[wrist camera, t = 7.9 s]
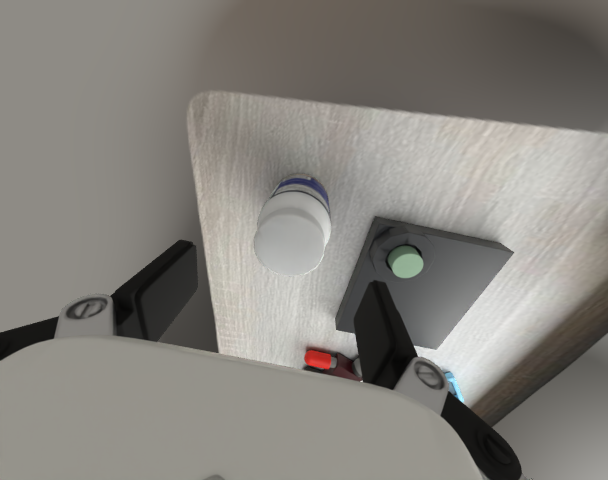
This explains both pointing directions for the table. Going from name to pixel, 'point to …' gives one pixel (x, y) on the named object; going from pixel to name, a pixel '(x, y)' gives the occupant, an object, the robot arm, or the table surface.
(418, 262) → the button
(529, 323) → the table surface
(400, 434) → the robot arm
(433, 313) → the dark grey button base
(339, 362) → the toy gun
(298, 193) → the pill bottle
